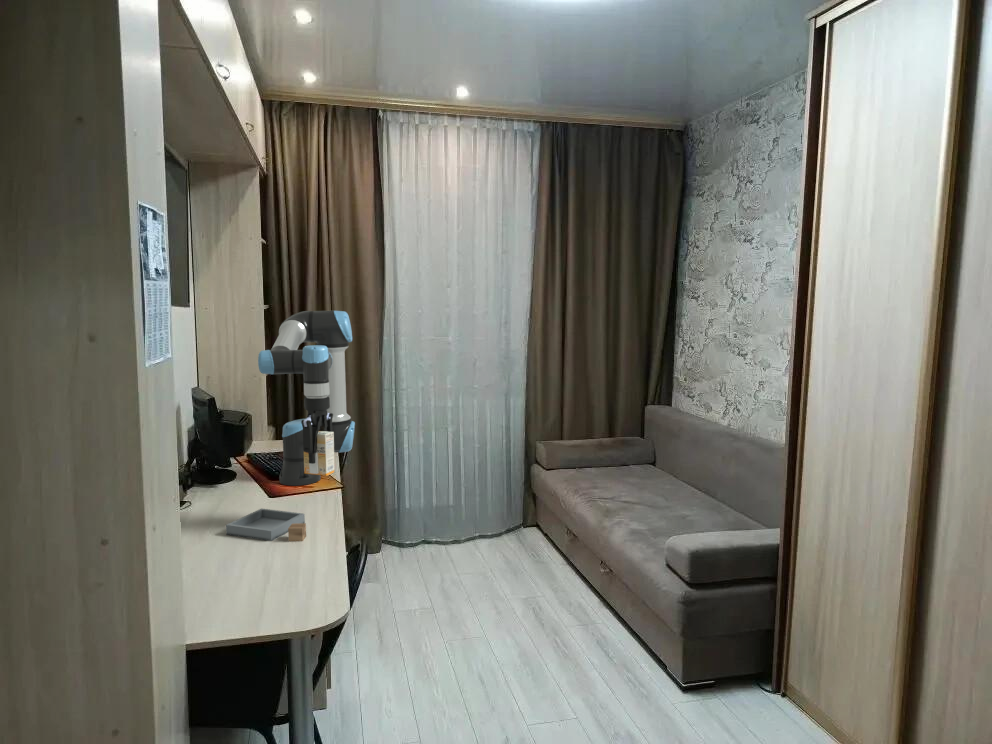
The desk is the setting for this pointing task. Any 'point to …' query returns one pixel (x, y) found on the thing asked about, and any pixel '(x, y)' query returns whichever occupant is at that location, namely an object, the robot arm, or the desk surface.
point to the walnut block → (297, 532)
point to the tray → (264, 524)
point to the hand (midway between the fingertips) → (319, 470)
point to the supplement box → (323, 454)
